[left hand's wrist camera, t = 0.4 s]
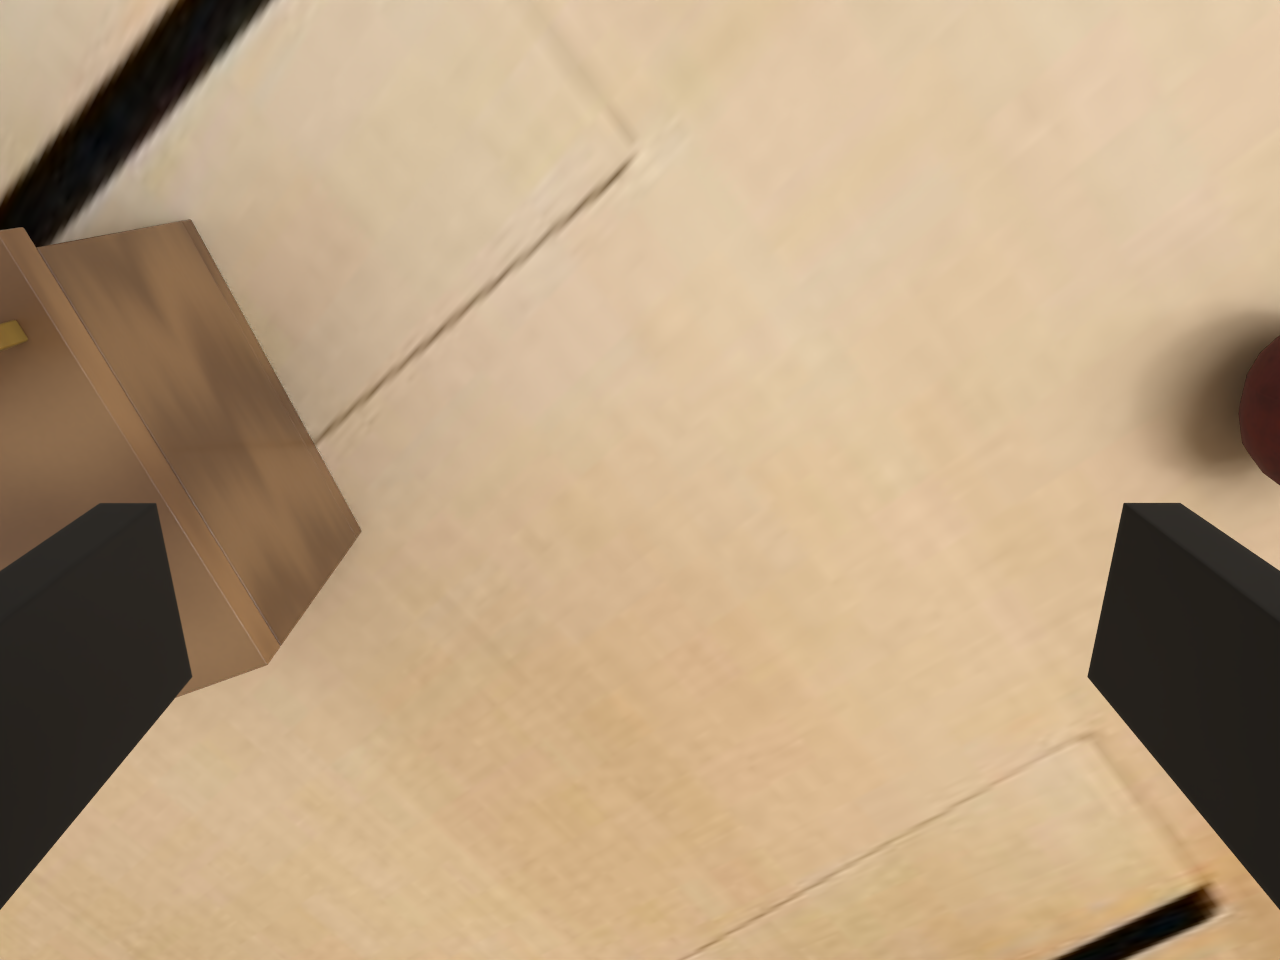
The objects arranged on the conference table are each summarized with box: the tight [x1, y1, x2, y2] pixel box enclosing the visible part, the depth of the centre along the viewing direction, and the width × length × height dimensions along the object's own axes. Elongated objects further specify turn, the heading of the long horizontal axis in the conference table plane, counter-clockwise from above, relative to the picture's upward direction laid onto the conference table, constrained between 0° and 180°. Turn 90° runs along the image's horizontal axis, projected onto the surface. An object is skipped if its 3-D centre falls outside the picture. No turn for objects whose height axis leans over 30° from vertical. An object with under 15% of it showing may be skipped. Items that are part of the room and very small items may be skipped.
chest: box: [36, 220, 361, 646], centre depth 36 cm, size 15×9×10 cm, turn 21°
